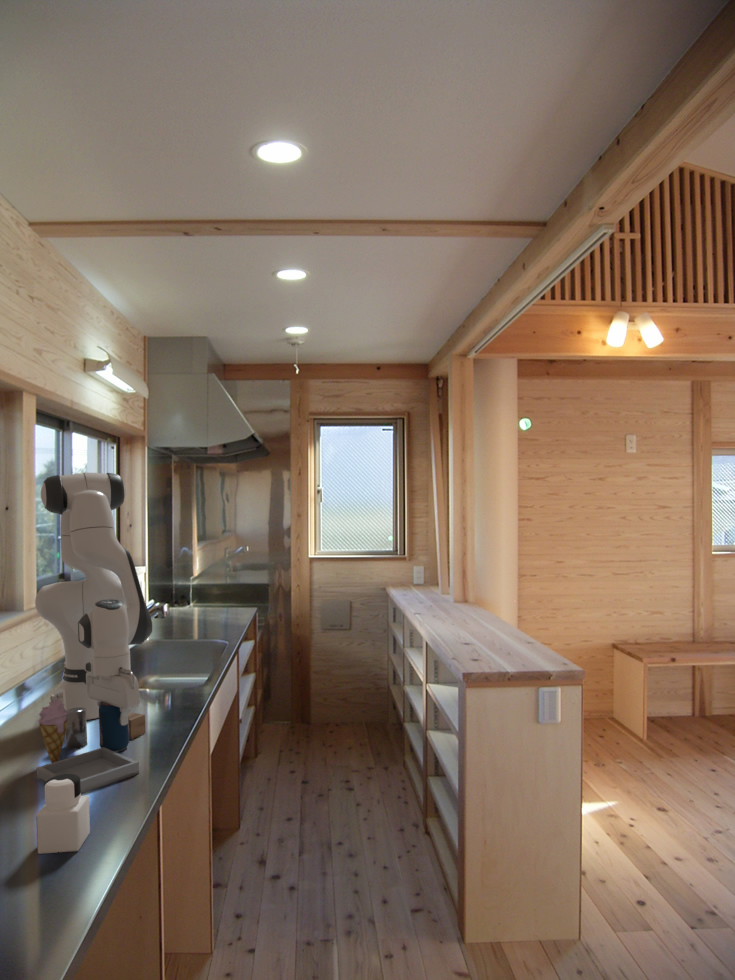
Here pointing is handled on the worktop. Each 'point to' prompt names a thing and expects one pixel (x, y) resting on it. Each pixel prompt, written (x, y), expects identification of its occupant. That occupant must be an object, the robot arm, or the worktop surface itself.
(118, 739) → the soda can
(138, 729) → the walnut block
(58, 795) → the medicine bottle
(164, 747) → the worktop surface
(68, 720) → the dark metal canister
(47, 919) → the worktop surface
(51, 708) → the ice cream cone
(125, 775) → the slate tray
